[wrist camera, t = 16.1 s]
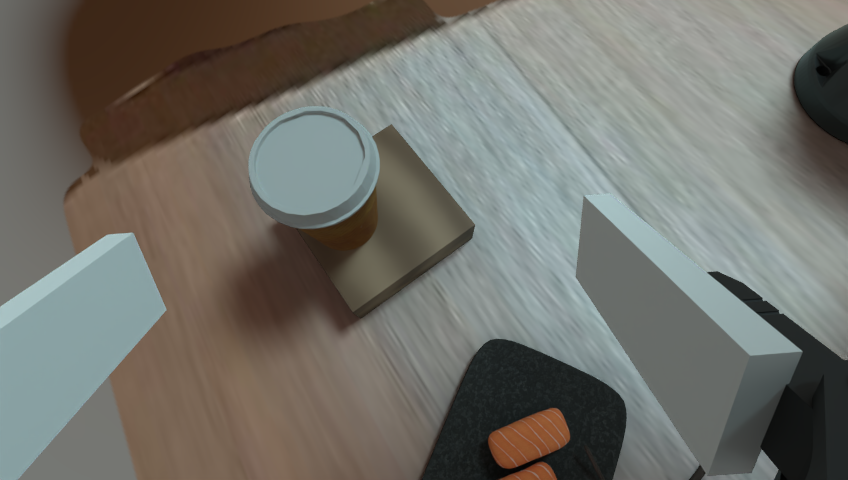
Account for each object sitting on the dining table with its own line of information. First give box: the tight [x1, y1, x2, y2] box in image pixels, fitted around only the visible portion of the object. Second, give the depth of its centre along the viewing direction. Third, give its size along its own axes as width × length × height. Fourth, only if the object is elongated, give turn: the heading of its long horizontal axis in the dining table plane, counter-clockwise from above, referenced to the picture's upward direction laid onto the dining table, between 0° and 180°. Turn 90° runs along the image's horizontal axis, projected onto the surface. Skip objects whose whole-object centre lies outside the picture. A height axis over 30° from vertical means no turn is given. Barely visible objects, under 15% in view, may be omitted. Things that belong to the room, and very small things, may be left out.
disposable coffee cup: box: [249, 106, 380, 251], centre depth 35 cm, size 10×10×12 cm
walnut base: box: [296, 124, 475, 318], centre depth 43 cm, size 14×14×4 cm
